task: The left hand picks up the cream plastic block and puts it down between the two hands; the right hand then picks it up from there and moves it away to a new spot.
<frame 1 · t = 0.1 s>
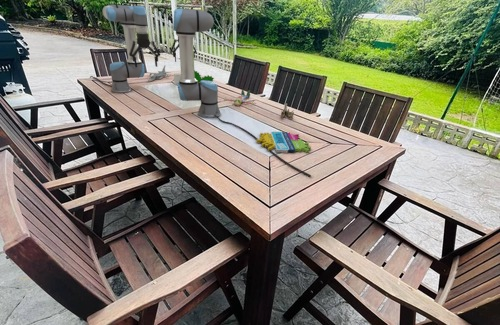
left hand: (146, 66, 183), 28 cm above the table, tool pointing down, fingers open, 13 cm apart
right hand: (184, 61, 211), 28 cm above the table, tool pointing down, fingers open, 13 cm apart
toy: (241, 101, 221), on the table
jawbone: (285, 116, 194), on the table
airplane: (159, 78, 277), on the table
block: (178, 84, 260), on the table
sign: (281, 143, 152), on the table
ornament: (202, 88, 251), on the table
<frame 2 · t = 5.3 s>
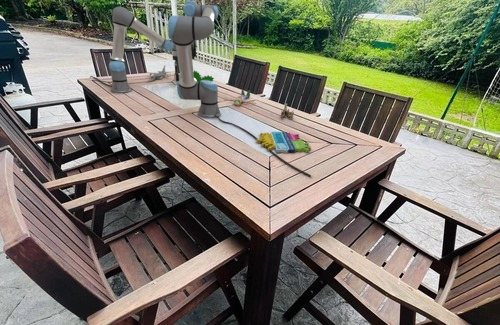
left hand: (178, 80, 258), 4 cm above the table, tool pointing down, fingers closed on block, 6 cm apart
right hand: (193, 57, 197), 33 cm above the table, tool pointing down, fingers open, 13 cm apart
block: (178, 84, 260), on the table, touching left hand
everything else where it was.
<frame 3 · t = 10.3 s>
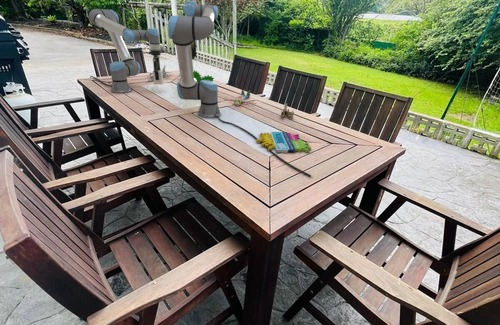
left hand: (158, 79, 222), 12 cm above the table, tool pointing down, fingers closed on block, 6 cm apart
right hand: (193, 57, 197), 33 cm above the table, tool pointing down, fingers open, 13 cm apart
block: (158, 83, 223), point 8 cm above the table, touching left hand
everything else where it was.
when the left hand's fingers open (5 cm above the table, at t = 15.5 s): block drops 2 cm, on the table.
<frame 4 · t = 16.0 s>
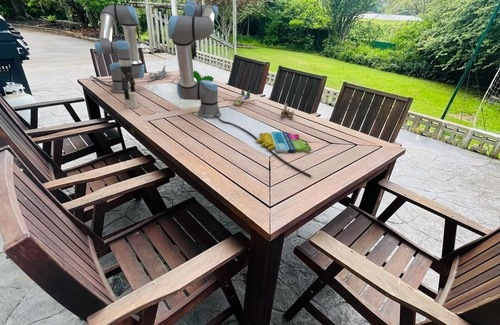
left hand: (130, 96, 188), 7 cm above the table, tool pointing down, fingers open, 13 cm apart
right hand: (193, 57, 197), 33 cm above the table, tool pointing down, fingers open, 13 cm apart
block: (132, 106, 192), on the table
everything else where it was.
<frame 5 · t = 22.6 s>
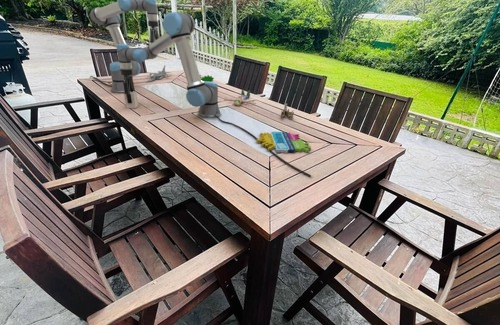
left hand: (156, 50, 209), 35 cm above the table, tool pointing down, fingers open, 13 cm apart
right hand: (131, 101, 190), 4 cm above the table, tool pointing down, fingers closed on block, 6 cm apart
block: (132, 106, 192), on the table, touching right hand
everything else where it was.
when the right hand's fingers open (5 cm above the table, at t = 33.7 s): block drops 2 cm, on the table.
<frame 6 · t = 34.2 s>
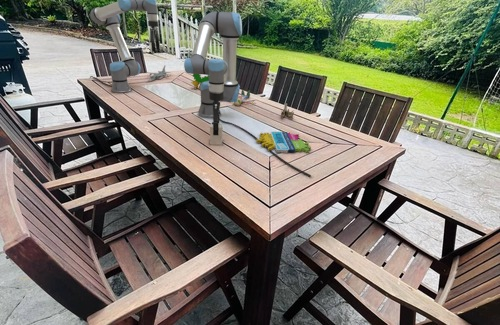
left hand: (156, 50, 209), 35 cm above the table, tool pointing down, fingers open, 13 cm apart
right hand: (216, 130, 144), 7 cm above the table, tool pointing down, fingers open, 13 cm apart
block: (216, 142, 148), on the table
everything else where it was.
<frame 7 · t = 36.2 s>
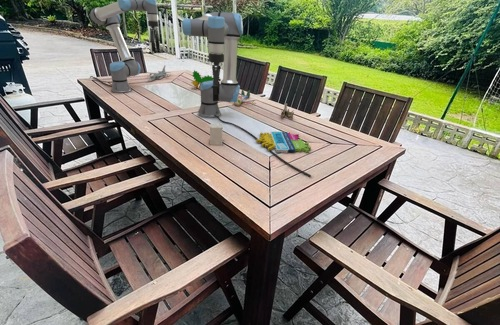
left hand: (156, 50, 209), 35 cm above the table, tool pointing down, fingers open, 13 cm apart
right hand: (216, 97, 135), 26 cm above the table, tool pointing down, fingers open, 13 cm apart
nothing on the table moved.
at the end: block inside the target area (0.1 cm from its centre), on the table; block tilted 0°; the two hands never held the block at the same time; the left hand is holding nothing; the right hand is holding nothing; block at rest at the end (0.0 cm/s) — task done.
